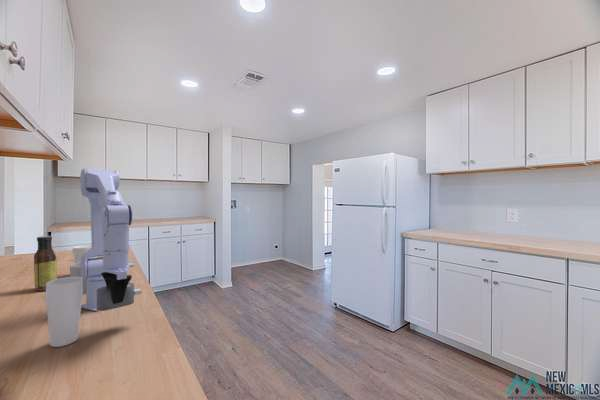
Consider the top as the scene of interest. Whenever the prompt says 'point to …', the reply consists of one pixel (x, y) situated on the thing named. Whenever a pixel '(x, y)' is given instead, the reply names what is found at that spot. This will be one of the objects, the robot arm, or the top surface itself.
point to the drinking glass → (64, 309)
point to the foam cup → (81, 252)
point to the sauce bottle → (44, 263)
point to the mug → (78, 274)
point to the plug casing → (106, 301)
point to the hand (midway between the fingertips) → (115, 299)
